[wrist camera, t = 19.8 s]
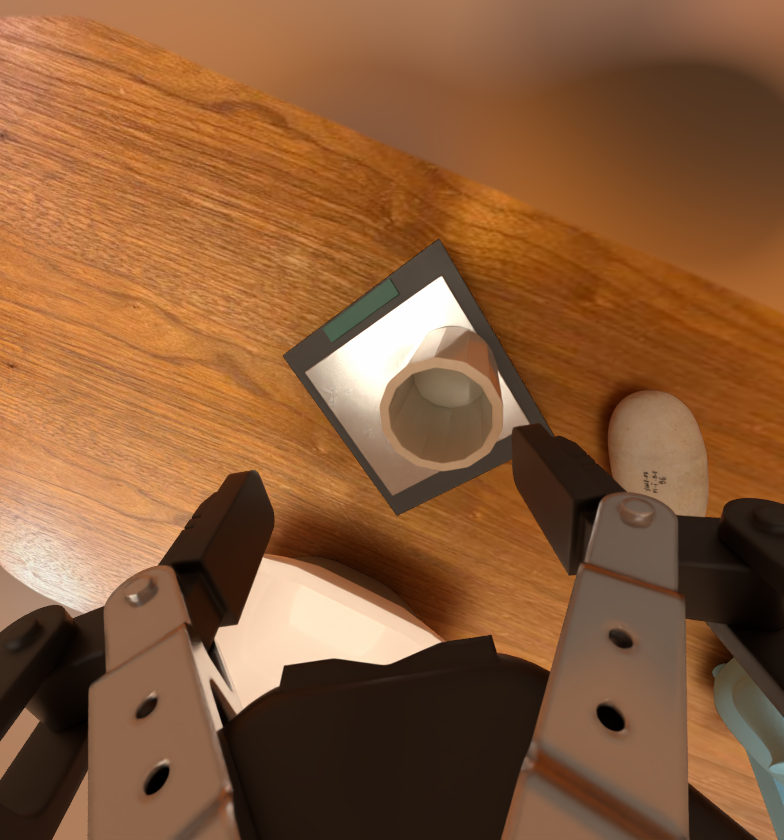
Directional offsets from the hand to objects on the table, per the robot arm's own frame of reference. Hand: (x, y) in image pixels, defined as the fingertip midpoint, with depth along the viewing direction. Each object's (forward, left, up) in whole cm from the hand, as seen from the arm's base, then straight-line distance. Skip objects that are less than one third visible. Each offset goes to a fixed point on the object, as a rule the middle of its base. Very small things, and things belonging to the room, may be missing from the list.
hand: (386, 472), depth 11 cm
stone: (+15, +11, -19) cm, 26 cm away
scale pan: (+1, -1, -16) cm, 16 cm away
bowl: (+17, -21, -19) cm, 33 cm away
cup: (+1, +2, -15) cm, 15 cm away
